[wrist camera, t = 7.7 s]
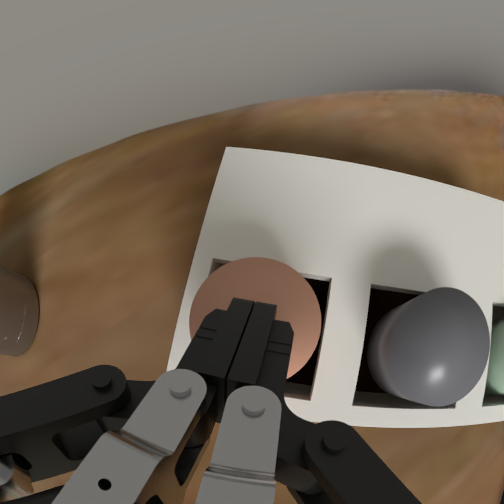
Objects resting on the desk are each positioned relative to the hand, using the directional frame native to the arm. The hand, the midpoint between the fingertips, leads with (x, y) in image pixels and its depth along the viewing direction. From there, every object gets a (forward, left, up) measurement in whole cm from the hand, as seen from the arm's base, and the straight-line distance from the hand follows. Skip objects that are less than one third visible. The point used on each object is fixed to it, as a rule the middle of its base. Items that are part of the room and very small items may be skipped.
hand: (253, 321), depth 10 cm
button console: (+8, +3, -13) cm, 15 cm away
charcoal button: (+8, 0, -5) cm, 9 cm away
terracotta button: (0, 0, -5) cm, 5 cm away
